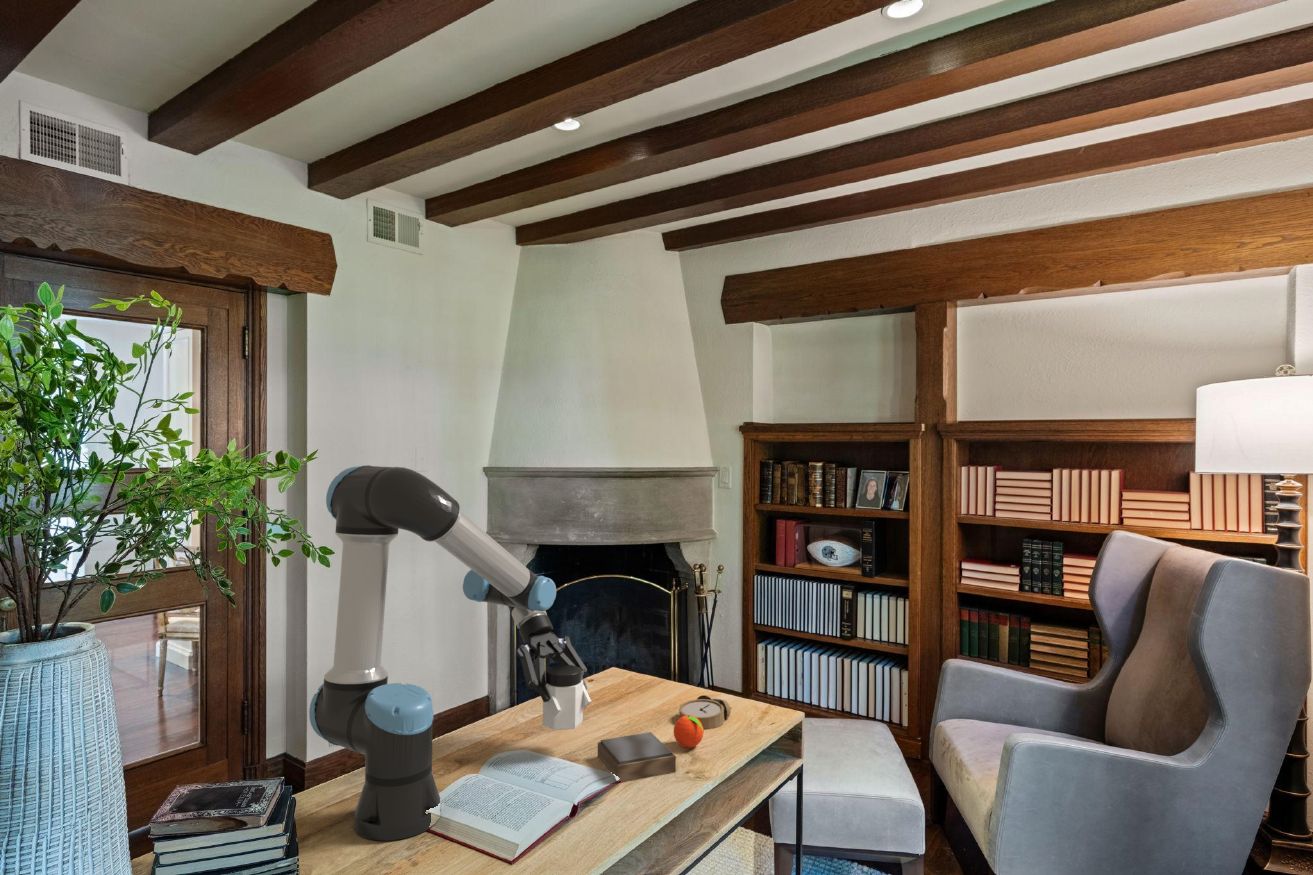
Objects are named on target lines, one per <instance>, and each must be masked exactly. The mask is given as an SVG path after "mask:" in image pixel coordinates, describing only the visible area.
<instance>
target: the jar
mask: <svg viewBox="0 0 1313 875" xmlns="http://www.w3.org/2000/svg"><path fill="white" fill-rule="evenodd" d="M582 677H583V676H582V670H581V668H579V667H577V666H573V665H559V664H558V665H552V666H549V667H547V668H545V685H546V684H549V685H550V688H551V690H552V692H553V694H554V697H555V698H556V700H557V702H558V704H559V706H560V709H561V710H560V711H559V713H558V714H557V715H556V716H554V717H553V716H552V714H551V712H550V709H549V707H548V705H547V703H546V702H544V701H543V700H542V725H543V726H545V727H547V728H549V729H551V730H554V731H561V730H575V729H576V728H577V727H578V726H579V725H580V724H582V722H583V718H584V717H583V715H584V714H583V712H584V708H583V680H581V678H582Z"/></svg>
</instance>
